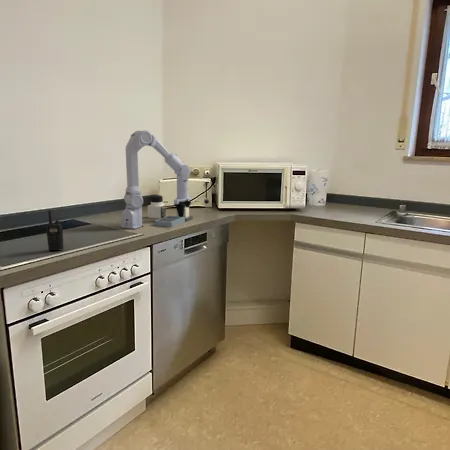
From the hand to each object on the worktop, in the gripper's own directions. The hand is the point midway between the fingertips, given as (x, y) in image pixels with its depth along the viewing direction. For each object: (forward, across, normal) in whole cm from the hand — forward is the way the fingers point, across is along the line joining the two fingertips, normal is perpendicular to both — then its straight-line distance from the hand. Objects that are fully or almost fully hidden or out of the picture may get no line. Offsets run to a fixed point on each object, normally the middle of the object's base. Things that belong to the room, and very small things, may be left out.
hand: (182, 216), depth 197 cm
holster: (+2, 0, 0) cm, 2 cm away
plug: (+2, 0, 0) cm, 2 cm away
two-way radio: (+3, -65, +18) cm, 67 cm away
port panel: (+2, -11, +1) cm, 11 cm away
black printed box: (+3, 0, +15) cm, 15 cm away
